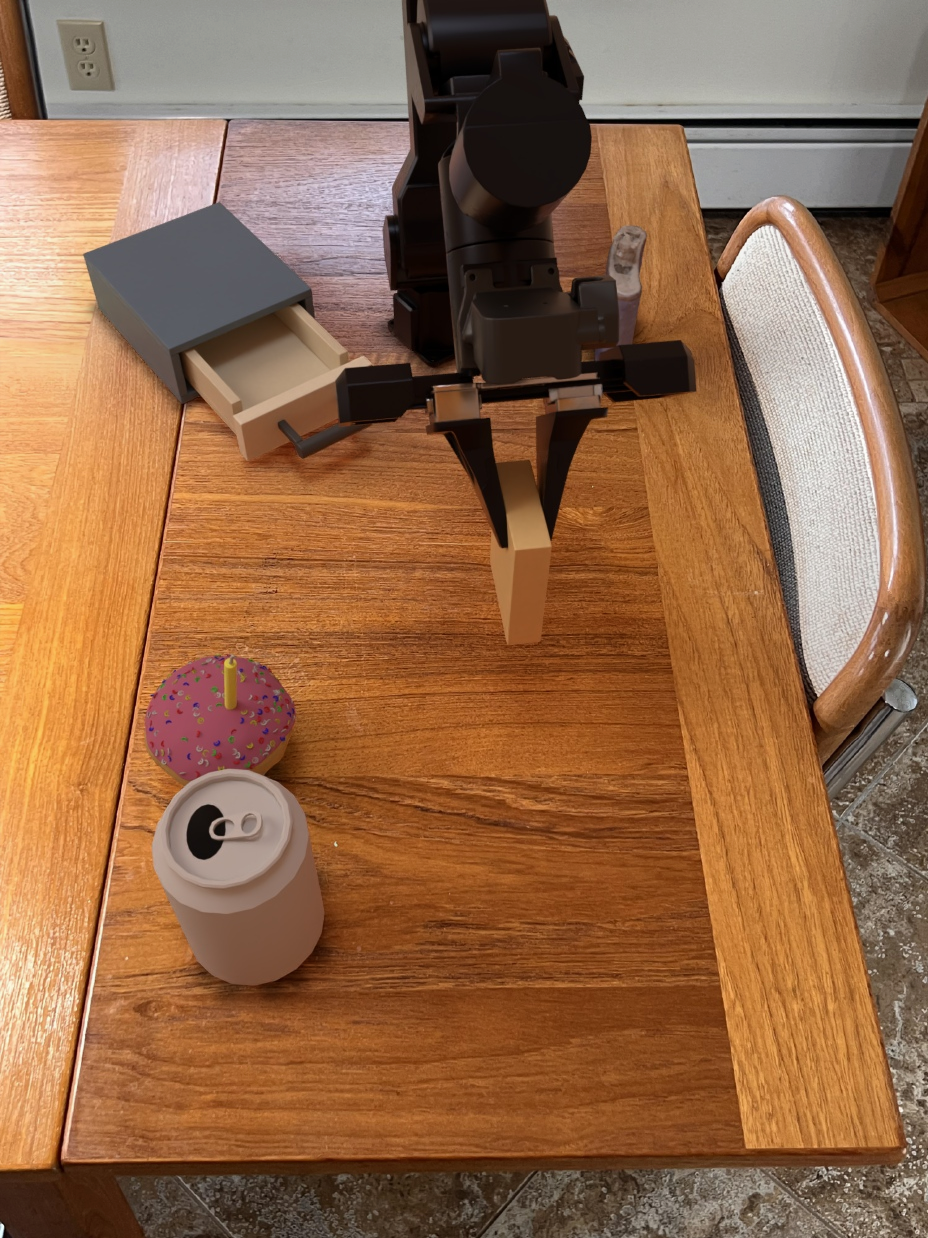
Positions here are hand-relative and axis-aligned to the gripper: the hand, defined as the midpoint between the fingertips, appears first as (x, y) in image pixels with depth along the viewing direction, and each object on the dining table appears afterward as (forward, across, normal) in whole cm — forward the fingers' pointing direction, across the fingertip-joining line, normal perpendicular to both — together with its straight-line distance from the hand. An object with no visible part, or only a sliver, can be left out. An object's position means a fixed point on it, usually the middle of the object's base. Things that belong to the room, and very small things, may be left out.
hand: (524, 545), depth 63 cm
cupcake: (+12, -18, +7) cm, 23 cm away
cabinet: (-18, -19, +37) cm, 45 cm away
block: (+4, 0, +6) cm, 7 cm away
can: (+20, -17, 0) cm, 26 cm away
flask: (-12, +14, +32) cm, 37 cm away
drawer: (-11, -13, +29) cm, 34 cm away
